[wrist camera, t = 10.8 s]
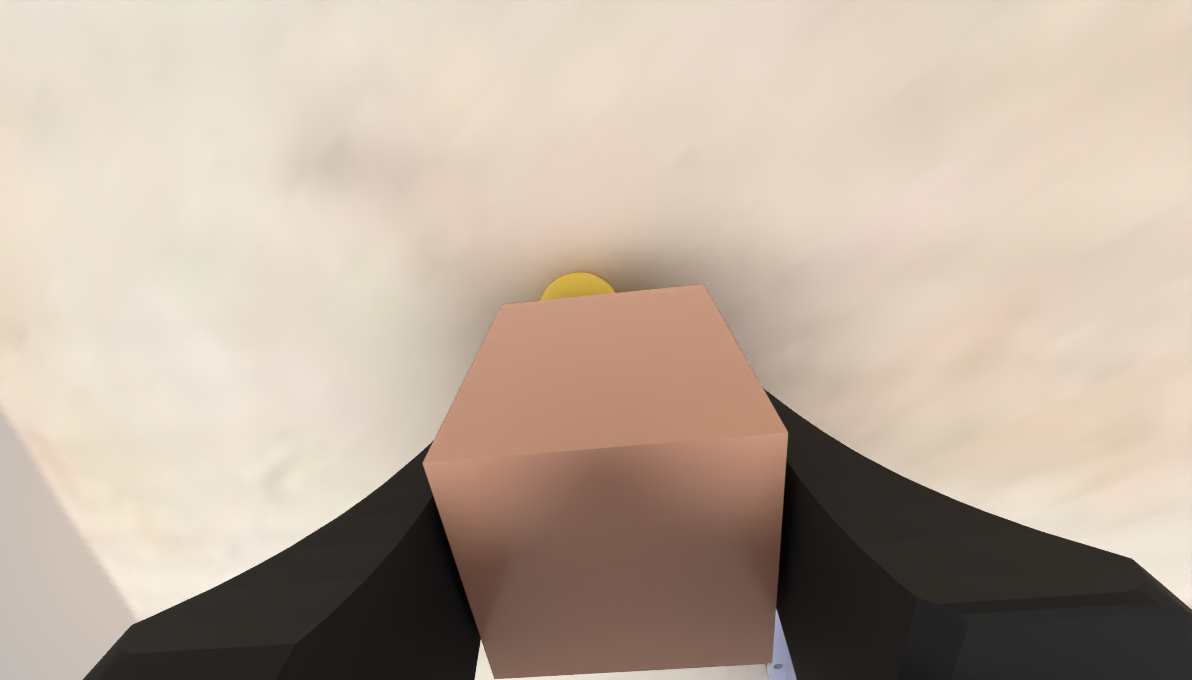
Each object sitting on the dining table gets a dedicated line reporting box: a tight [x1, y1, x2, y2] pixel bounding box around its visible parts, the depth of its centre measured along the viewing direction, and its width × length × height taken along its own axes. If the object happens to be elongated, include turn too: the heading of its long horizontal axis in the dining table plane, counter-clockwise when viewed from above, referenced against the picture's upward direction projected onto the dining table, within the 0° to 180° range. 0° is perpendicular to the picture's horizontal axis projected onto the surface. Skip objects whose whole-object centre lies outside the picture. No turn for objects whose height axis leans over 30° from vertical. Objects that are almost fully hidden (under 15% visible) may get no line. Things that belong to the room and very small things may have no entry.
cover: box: [423, 284, 788, 679], centre depth 10 cm, size 5×5×6 cm
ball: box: [540, 272, 616, 301], centre depth 18 cm, size 3×3×3 cm
